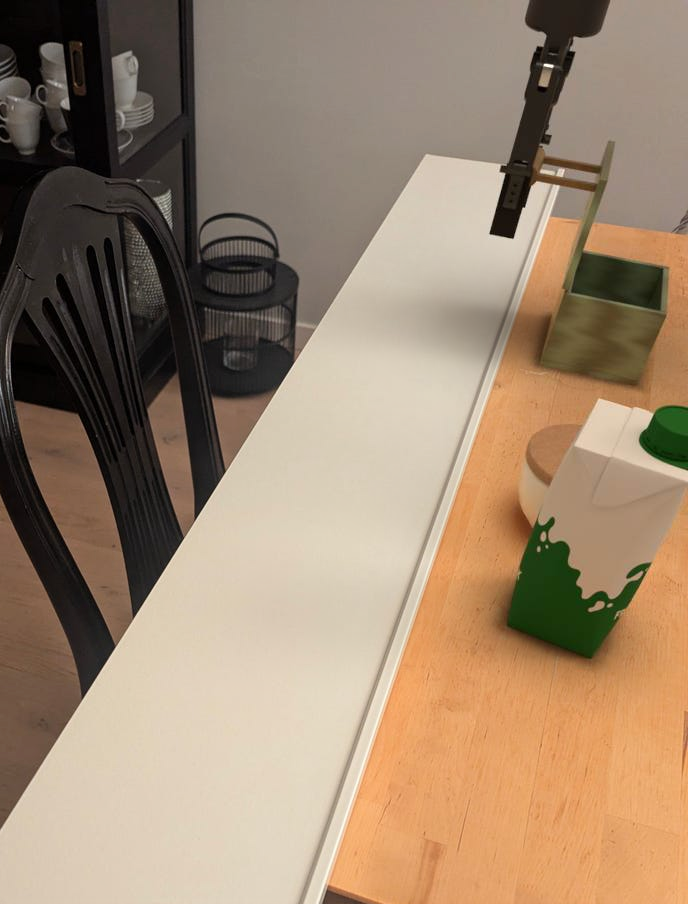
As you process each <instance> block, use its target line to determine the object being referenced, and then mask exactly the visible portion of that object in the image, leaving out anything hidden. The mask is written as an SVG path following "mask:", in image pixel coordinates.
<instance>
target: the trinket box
mask: <svg viewBox="0 0 688 904" xmlns="http://www.w3.org/2000/svg"><path fill="white" fill-rule="evenodd" d="M582 426H583V424H578V423H577V424H576V423H561V424H553V425H549V426H546V427H544V428H542V429H540V430H538V431H536V433H534V434H533V435H532V436H531V437H530V439H529V440H528V443H527V445H526V449H525V456H524V459H523V462H522V465H521V468H520V473H519V479H518V486H517V488H518V489H517V491H518V493H517V494H518V500H519V504H520V507H521V510H522V512H523V514H524V516H525V517H526V519H527V521H528V523H529V526H530V527H531V529H532V530H533V527H534V525H535V522H536V519H537V517H538V514H539V512H540V509H541V507H542V504H543V502H544V499H545V497H546V494H547V492H548V489H549V486H550V484H551V482H552V479H553V477H554V475H555V474H556V472H557V470H558V468H559V466H560V464H561V462H562V460H563V458H564V456H565V455H566V453H567V451H568V449H569V448H570V446H571V444H572V443H573V441H574V439H575V437H576V436H577V434H578V432H579V431H580V429H581V427H582Z"/></svg>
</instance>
